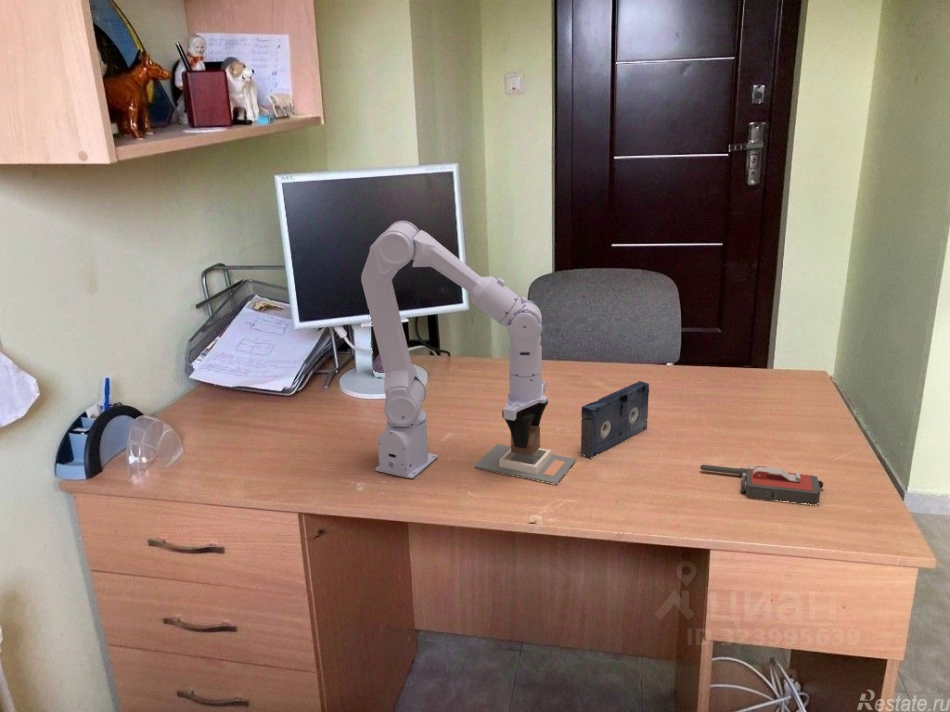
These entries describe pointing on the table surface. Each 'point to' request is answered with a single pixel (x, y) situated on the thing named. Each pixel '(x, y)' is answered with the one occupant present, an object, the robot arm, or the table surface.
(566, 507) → the table surface
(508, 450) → the pocket board
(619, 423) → the vhs cassette tape
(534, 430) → the walnut block
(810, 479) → the walkie-talkie
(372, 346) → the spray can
